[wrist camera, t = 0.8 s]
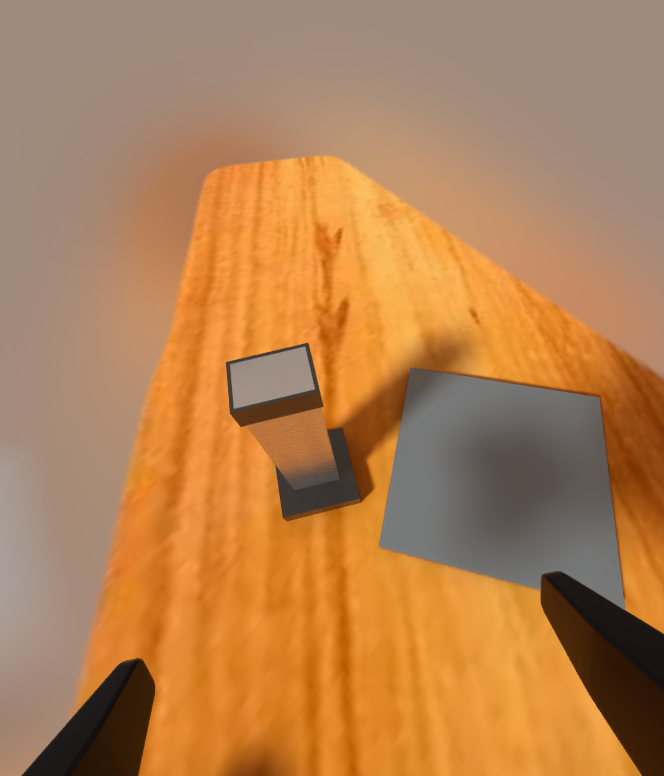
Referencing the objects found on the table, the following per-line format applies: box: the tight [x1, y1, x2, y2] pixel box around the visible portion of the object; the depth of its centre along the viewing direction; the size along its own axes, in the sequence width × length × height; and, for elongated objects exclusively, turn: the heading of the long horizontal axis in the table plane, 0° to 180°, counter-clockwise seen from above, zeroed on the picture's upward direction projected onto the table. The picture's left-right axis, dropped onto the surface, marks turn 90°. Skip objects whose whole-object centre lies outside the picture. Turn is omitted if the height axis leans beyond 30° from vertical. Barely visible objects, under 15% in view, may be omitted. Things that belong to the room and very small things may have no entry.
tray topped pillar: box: [226, 343, 361, 521], centre depth 19 cm, size 5×5×13 cm
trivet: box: [379, 368, 625, 610], centre depth 23 cm, size 13×13×1 cm
